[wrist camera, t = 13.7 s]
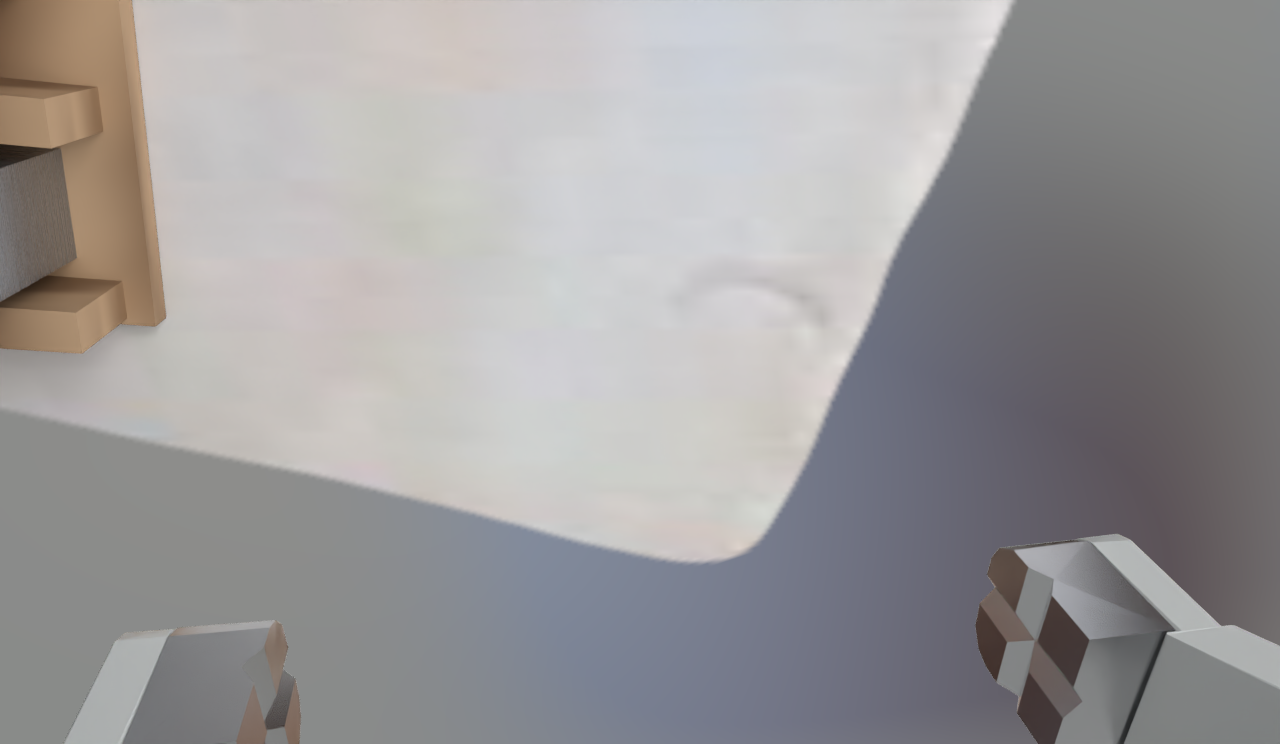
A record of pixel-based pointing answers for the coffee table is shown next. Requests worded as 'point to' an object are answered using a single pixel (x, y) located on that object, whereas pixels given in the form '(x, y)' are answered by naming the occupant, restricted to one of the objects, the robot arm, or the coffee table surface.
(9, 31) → the twin post stand
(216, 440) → the coffee table surface
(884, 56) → the coffee table surface
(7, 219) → the grey block
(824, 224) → the coffee table surface
